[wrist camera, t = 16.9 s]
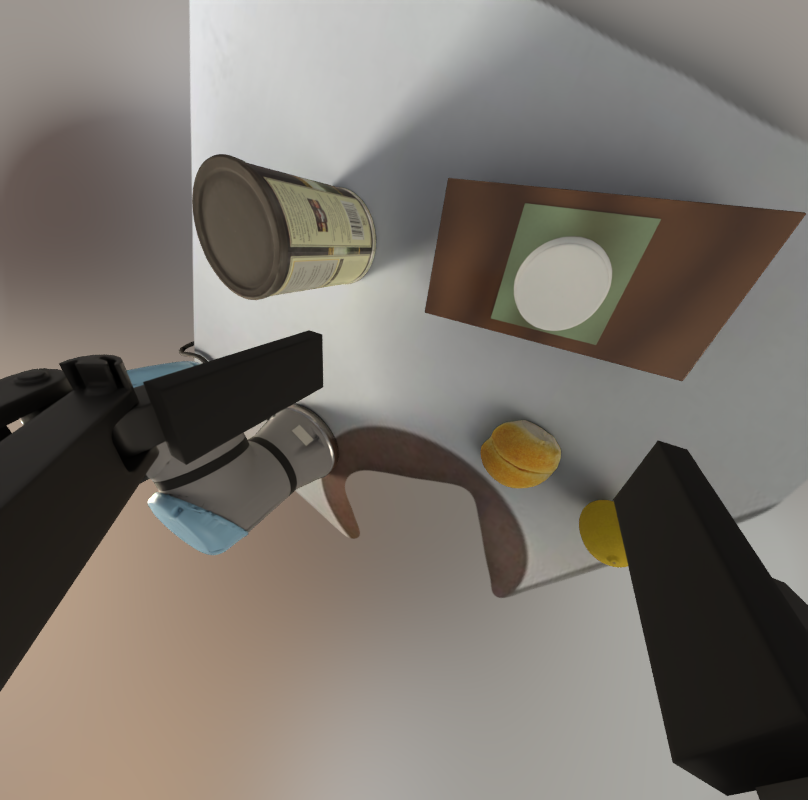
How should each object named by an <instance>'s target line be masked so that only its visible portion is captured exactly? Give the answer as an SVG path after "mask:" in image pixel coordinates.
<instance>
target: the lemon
mask: <svg viewBox="0 0 808 800" xmlns="http://www.w3.org/2000/svg"><path fill="white" fill-rule="evenodd" d="M579 530H580V534H581V537H582V540H583V542H584V545H585V547H586V548H587V549H588V551H589V552H590V553H591V554H592V555H593V556H594V557H595V558H596V559H597V560H599V561H601V562H602V563H604V564H607V565H609V566H613V567H627V566H628V562H627V558H626V553H625V549H624V544H623V540H622V536H621V531H620V527H619V522H618V518H617V513H616V509H615V505H614V502H613V501H609V500H597V501H593V502H591V503H589V504H588V505H587V506H586V507H585V508H584V509H583V510H582V513H581V515H580V518H579Z"/></svg>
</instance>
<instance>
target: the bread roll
mask: <svg viewBox="0 0 808 800" xmlns="http://www.w3.org/2000/svg"><path fill="white" fill-rule="evenodd" d="M560 458H561V449H560V447H559V445H558V443H557V442H556V440H555V438H554V437H553V436H552V435H550V434H549V433H547V432H546V431H545V430H544V429H542V428H541V427H539V426H537V425H535V424H533V423H531V422H528V421H526V420H518V421H512V422H506V423H503V424H502V425H500V426H498V427H497V428H496V429H495V430H494V431H493V433H492V436H491V437H490V438H489V439H488V440H486V441H485V442H484V444H483V445H482V447H481V459H482V463H483V465H484V467H485V469H486V470H487V472H488V473H489V474H490V475H491V477H493V478H494V479H495V480H496V481H498V482H499V483H501V484H502V485H505V486H507V487H511V488H528V487H533V486H536V485H539V484H540V483H542V482H544V481H545V480H546V479H547V478H549V477H550V476H551V474H552V473H553V472H554V471H555V470H556V469H557V467H558V464H559V462H560Z"/></svg>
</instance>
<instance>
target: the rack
mask: <svg viewBox="0 0 808 800" xmlns="http://www.w3.org/2000/svg"><path fill="white" fill-rule="evenodd" d="M805 215H806V213H805V212H795V211H784V210H774V209H764V208H753V207H743V206H733V205H722V204H712V203H702V202H691V201H681V200H671V199H661V198H650V197H640V196H630V195H619V194H609V193H599V192H588V191H578V190H568V189H557V188H547V187H537V186H526V185H516V184H506V183H496V182H485V181H475V180H465V179H454V178H448V182H447V187H446V193H445V199H444V205H443V210H442V216H441V222H440V227H439V233H438V239H437V245H436V250H435V256H434V262H433V268H432V273H431V279H430V285H429V291H428V296H427V302H426V308H425V313H429V314H432V315H436V316H440V317H444V318H447V319H451V320H455V321H459V322H462V323H466V324H470V325H474V326H477V327H481V328H485V329H488V330H492V331H496V332H500V333H503V334H507V335H511V336H515V337H518V338H522V339H526V340H530V341H533V342H537V343H541V344H545V345H548V346H552V347H556V348H560V349H563V350H567V351H571V352H575V353H578V354H582V355H586V356H590V357H593V358H597V359H601V360H605V361H608V362H612V363H616V364H620V365H623V366H627V367H631V368H635V369H638V370H642V371H646V372H650V373H653V374H657V375H661V376H665V377H668V378H672V379H676V380H680V381H683V380H684V379H685V377H686V376H687V375H688V373H689V372H690V371H691V369H692V368H693V367H694V365H695V364H696V362H697V361H698V360H699V358H700V357H701V356H702V354H703V353H704V352H705V350H706V349H707V348H708V346H709V345H710V343H711V342H712V341H713V339H714V338H715V337H716V335H717V334H718V333H719V331H720V330H721V329H722V327H723V326H724V325H725V323H726V322H727V320H728V319H729V318H730V316H731V315H732V314H733V312H734V311H735V310H736V308H737V307H738V306H739V304H740V303H741V301H742V300H743V299H744V297H745V296H746V295H747V293H748V292H749V291H750V289H751V288H752V287H753V285H754V284H755V282H756V281H757V280H758V278H759V277H760V276H761V274H762V273H763V272H764V270H765V269H766V268H767V266H768V265H769V264H770V262H771V261H772V259H773V258H774V257H775V255H776V254H777V253H778V251H779V250H780V249H781V247H782V246H783V245H784V243H785V242H786V240H787V239H788V238H789V236H790V235H791V234H792V232H793V231H794V230H795V228H796V227H797V226H798V224H799V223H800V222H801V220H802V219H803V217H804V216H805ZM561 237H583V238H587V239H590V240H592V241H594V242H595V243H597V244H598V245H599V246H600V247H602V248H603V249H604V251H605V252H606V254H607V255H608V257H609V260H610V262H611V266H612V280H611V286H610V289H609V291H608V294H607V296H606V298H605V299H604V301H603V302H602V304H601V305H600V307H599V308H598V309H597V310H596V312H595V313H594V314H593V315H592V316H590V317H589V318H588V319H587V320H585V321H584V322H582V323H581V324H579V325H577V326H574V327H572V328H569V329H565V330H559V331H549V330H543V329H540V328H537V327H534V326H533V325H531V324H530V323H528V322H527V321H526V320H525V319H524V318H523V316H522V315H521V313H520V312H519V310H518V307H517V305H516V302H515V298H514V282H515V278H516V274H517V272H518V270H519V268H520V266H521V265H522V263H523V262H524V260H525V259H526V258H527V257H528V256H529V255H530V254H531V253H532V252H533V251H534V250H535V249H537V248H538V247H540V246H541V245H543V244H544V243H546V242H548V241H551V240H553V239H556V238H561Z"/></svg>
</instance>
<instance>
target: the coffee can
mask: <svg viewBox="0 0 808 800" xmlns="http://www.w3.org/2000/svg"><path fill="white" fill-rule="evenodd" d="M192 204H193V215H194V221H195V226H196V231H197V235H198V238H199V241H200V244H201V246H202V249H203V251H204V254H205V256H206V258H207V260H208V262H209V264H210V265H211V267H212V269H213V270H214V272H215V273H216V275H217V276H218V277H219V279H220V280H221V281H222V282H223V283H224V284H225V285H226V286H227V287H228V288H229V289H230V290H231V291H233V292H234V293H235V294H237V295H239V296H241V297H243V298H246V299H250V300H258V299H263V298H266V297H269V296H273V295H279V294H285V293H291V292H297V291H304V290H310V289H316V288H322V287H328V286H335V285H341V284H351V283H354V282H356V281H358V280H360V279H361V278H362V277H363V276H364V275H365V274H366V273H367V272H368V270H369V268H370V266H371V264H372V261H373V259H374V255H375V249H376V235H375V228H374V224H373V220H372V217H371V215H370V212H369V211H368V209H367V207H366V205H365V204H364V202H363V201H362V200H361V199H360V198H359V197H358V196H357V195H356V194H355V193H353V192H352V191H350V190H348V189H345V188H341V187H335V186H331V185H327V184H323V183H320V182H316V181H312V180H308V179H304V178H301V177H297V176H293V175H289V174H286V173H283V172H279V171H275V170H271V169H268V168H264V167H260V166H256V165H253V164H249V163H246V162H244V161H243V160H240V159H238V158H235V157H233V156H230V155H225V154H219V155H214V156H212V157H210V158H208V159H207V160H206V161H204V163H203V164H202V165H201V167H200V168H199V170H198V172H197V175H196V178H195V182H194V187H193V198H192Z"/></svg>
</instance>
